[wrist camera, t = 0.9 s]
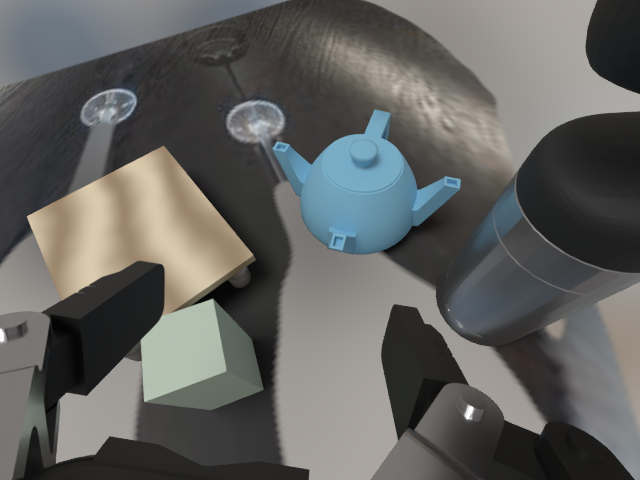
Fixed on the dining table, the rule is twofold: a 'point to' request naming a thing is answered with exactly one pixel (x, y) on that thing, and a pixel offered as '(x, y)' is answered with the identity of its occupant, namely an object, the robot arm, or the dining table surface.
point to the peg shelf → (141, 233)
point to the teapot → (361, 190)
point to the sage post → (198, 359)
